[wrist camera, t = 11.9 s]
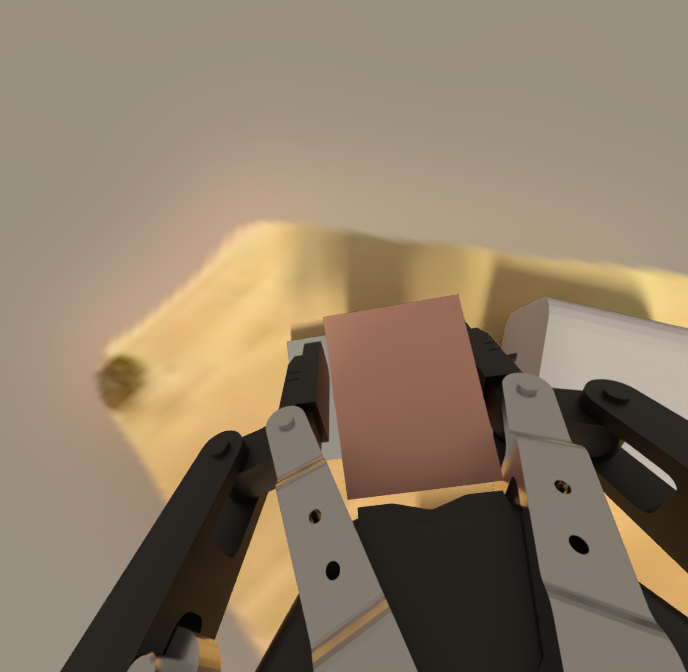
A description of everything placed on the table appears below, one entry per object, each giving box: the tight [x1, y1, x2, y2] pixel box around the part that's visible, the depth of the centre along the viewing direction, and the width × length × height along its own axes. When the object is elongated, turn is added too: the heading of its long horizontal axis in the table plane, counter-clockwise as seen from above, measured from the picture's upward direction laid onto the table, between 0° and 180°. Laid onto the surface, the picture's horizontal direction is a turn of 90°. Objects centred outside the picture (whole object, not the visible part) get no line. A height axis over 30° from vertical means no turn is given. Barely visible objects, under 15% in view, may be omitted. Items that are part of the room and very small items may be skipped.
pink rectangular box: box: [323, 295, 503, 500], centre depth 12 cm, size 4×5×10 cm
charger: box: [490, 297, 688, 495], centre depth 14 cm, size 5×9×15 cm
